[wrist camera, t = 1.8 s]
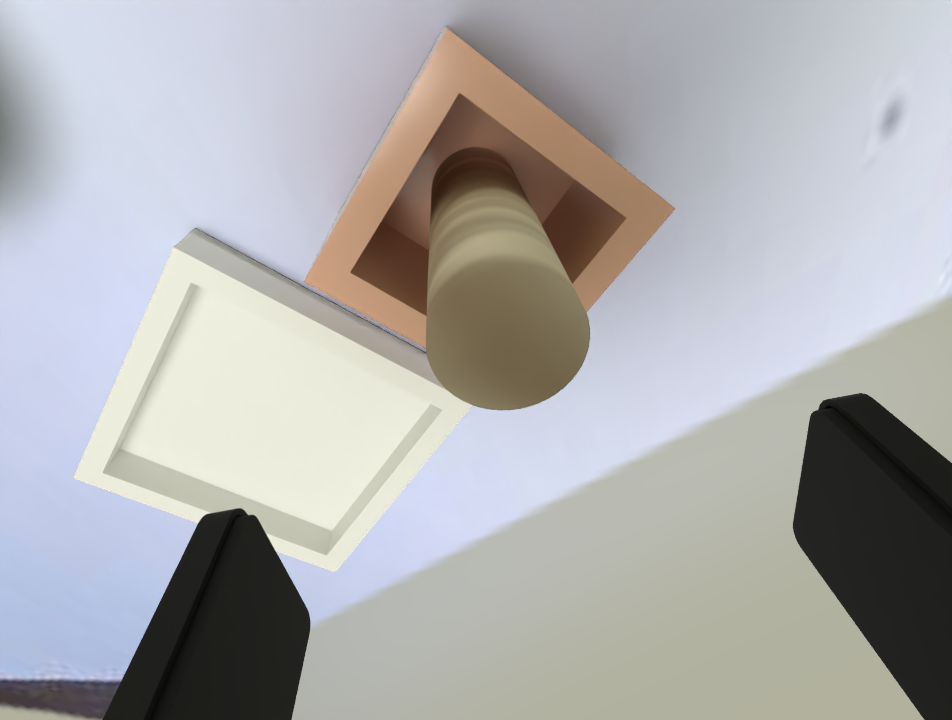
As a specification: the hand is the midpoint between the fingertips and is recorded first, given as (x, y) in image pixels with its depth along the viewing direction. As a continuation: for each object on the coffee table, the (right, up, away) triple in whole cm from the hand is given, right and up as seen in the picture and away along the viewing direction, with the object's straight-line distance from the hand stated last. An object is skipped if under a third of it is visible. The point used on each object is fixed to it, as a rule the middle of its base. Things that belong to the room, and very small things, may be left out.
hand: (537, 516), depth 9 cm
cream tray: (-12, 0, +23) cm, 26 cm away
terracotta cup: (-1, +11, +17) cm, 20 cm away
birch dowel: (-1, +10, +16) cm, 19 cm away
